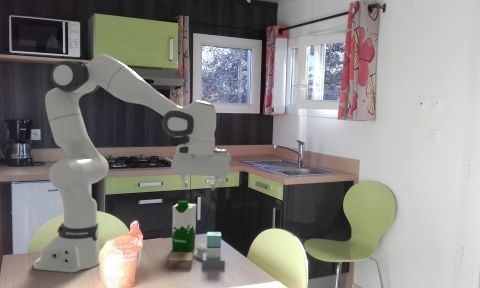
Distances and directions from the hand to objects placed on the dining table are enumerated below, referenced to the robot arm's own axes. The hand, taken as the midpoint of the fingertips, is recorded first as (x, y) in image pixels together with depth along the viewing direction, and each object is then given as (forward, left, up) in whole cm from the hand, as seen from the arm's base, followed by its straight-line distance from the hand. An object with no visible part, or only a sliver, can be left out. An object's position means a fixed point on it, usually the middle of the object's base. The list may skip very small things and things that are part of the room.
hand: (199, 187), depth 150 cm
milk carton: (-6, +23, -30) cm, 38 cm away
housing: (+6, +6, -27) cm, 28 cm away
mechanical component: (+3, +15, -30) cm, 34 cm away
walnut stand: (-6, +6, -30) cm, 31 cm away
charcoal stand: (+6, +6, -30) cm, 31 cm away
